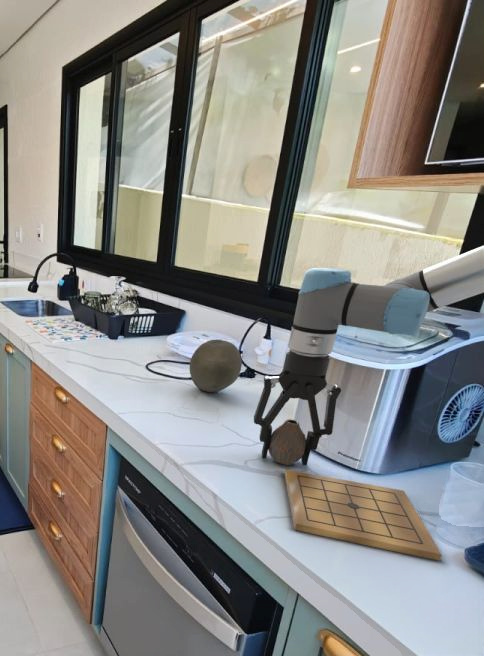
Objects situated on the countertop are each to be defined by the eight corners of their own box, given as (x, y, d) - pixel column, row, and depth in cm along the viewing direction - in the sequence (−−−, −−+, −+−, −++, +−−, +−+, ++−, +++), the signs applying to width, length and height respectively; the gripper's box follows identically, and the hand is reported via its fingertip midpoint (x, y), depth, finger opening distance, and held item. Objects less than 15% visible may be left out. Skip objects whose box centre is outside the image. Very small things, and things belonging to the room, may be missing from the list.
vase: (269, 465, 102) (277, 426, 99) (262, 451, 108) (270, 413, 105) (305, 470, 101) (315, 430, 98) (296, 454, 107) (306, 417, 104)
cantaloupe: (175, 390, 145) (183, 339, 139) (202, 380, 153) (210, 332, 148) (220, 404, 135) (230, 350, 129) (246, 393, 143) (256, 342, 138)
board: (402, 496, 93) (404, 490, 93) (439, 561, 76) (442, 554, 75) (284, 474, 100) (285, 468, 99) (294, 529, 82) (295, 523, 82)
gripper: (253, 350, 96) (232, 457, 105) (373, 363, 90) (340, 476, 98) (252, 341, 103) (233, 443, 111) (363, 353, 96) (334, 460, 105)
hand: (283, 458), depth 105 cm, fingers closed on vase, 7 cm apart
